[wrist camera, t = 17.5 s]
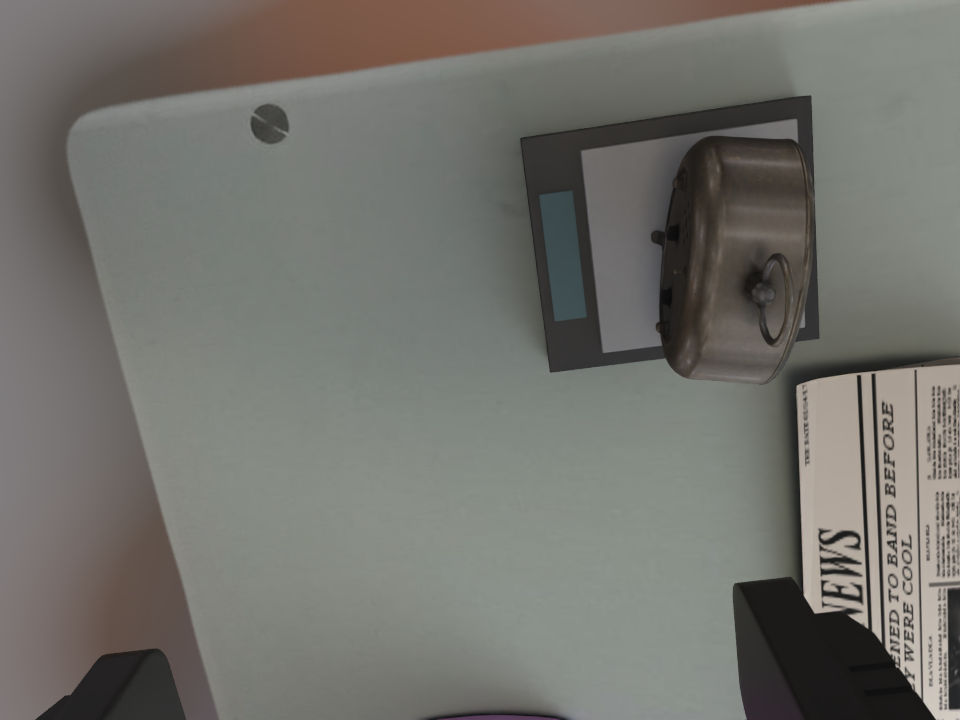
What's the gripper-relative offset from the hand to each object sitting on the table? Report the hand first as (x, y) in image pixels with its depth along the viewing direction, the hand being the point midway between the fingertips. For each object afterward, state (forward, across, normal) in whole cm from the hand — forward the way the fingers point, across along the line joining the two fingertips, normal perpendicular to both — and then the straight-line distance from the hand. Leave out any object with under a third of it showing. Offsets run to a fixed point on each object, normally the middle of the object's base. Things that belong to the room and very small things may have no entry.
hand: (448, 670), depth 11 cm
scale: (+37, -10, 0) cm, 38 cm away
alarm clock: (+34, -11, 0) cm, 36 cm away
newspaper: (+37, -21, +27) cm, 50 cm away
